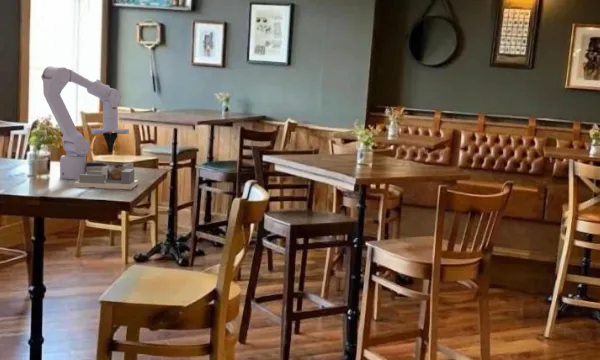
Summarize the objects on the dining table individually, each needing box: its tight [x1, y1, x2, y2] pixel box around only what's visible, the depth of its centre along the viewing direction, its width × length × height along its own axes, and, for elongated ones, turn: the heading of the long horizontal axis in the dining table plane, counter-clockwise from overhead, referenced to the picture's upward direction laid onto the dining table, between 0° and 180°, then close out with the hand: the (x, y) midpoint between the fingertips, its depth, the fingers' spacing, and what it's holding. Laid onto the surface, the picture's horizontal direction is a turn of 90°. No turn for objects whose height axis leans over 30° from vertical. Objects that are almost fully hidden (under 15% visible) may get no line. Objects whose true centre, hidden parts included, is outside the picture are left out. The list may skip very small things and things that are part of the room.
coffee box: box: [86, 160, 134, 175], centre depth 298 cm, size 9×6×16 cm
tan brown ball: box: [110, 168, 122, 180], centre depth 282 cm, size 5×5×5 cm
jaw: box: [102, 165, 113, 179], centre depth 282 cm, size 2×8×4 cm, turn 179°
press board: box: [72, 168, 139, 190], centre depth 282 cm, size 21×12×6 cm, turn 89°
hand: (110, 151), depth 307 cm, fingers closed
